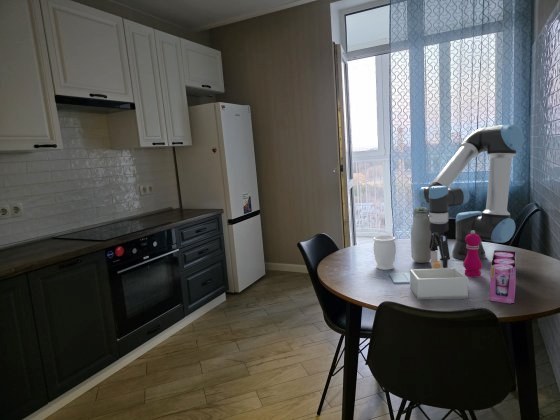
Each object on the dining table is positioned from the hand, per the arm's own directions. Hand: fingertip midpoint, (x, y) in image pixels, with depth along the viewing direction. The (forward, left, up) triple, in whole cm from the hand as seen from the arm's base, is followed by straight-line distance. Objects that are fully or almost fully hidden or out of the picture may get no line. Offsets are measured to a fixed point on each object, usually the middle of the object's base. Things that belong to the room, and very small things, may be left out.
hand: (439, 269), depth 162 cm
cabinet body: (+6, +18, -3) cm, 19 cm away
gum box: (-18, +19, -4) cm, 26 cm away
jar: (+20, -17, -4) cm, 27 cm away
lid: (+9, 0, -4) cm, 10 cm away
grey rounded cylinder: (+1, -23, -4) cm, 23 cm away
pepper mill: (-15, -2, -4) cm, 15 cm away
